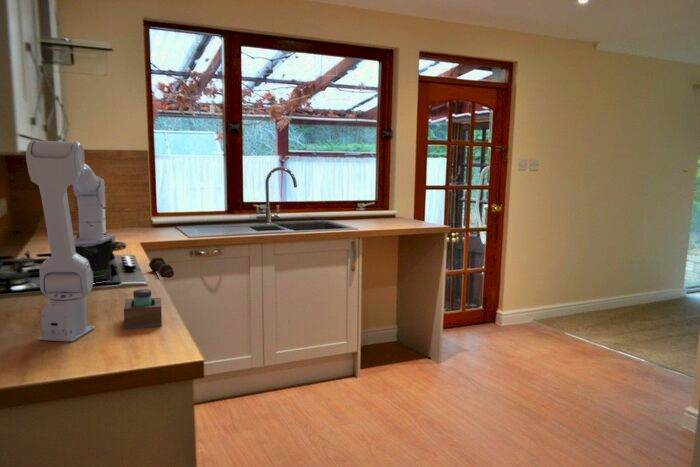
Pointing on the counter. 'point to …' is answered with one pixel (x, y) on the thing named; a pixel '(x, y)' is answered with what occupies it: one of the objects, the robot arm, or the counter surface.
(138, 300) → the peg
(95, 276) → the storage jar
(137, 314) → the socket
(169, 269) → the dark dumbbell
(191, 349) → the counter surface
